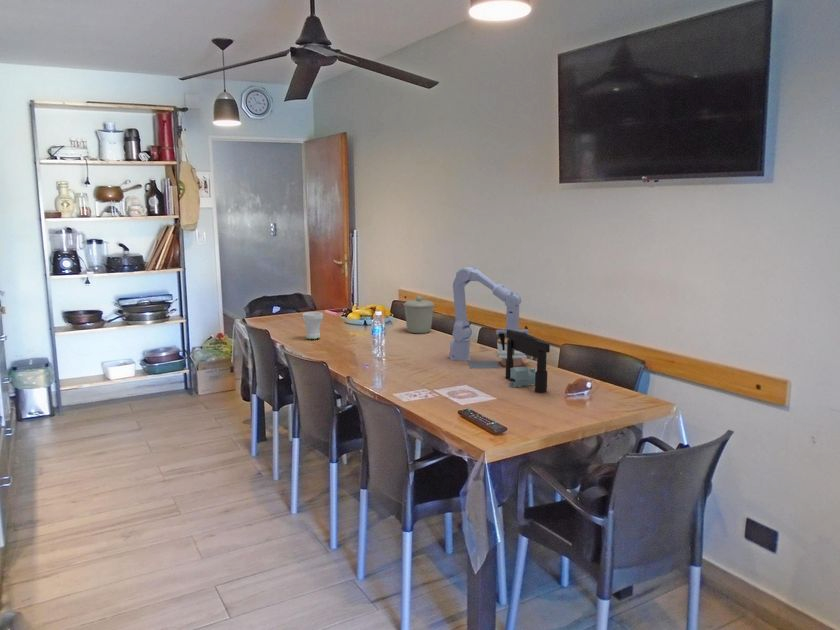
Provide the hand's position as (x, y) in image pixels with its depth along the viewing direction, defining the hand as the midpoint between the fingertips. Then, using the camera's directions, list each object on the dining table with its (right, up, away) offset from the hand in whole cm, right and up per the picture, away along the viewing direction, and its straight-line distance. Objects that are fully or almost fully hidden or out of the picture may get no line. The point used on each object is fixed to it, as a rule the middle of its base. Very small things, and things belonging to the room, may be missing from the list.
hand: (511, 349), depth 302 cm
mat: (-13, -7, 0) cm, 15 cm away
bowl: (0, -7, +1) cm, 7 cm away
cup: (-100, +3, +59) cm, 116 cm away
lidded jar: (+1, -4, +20) cm, 20 cm away
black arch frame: (+1, -13, -31) cm, 34 cm away
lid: (0, -3, 0) cm, 3 cm away
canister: (-43, +6, +79) cm, 90 cm away
